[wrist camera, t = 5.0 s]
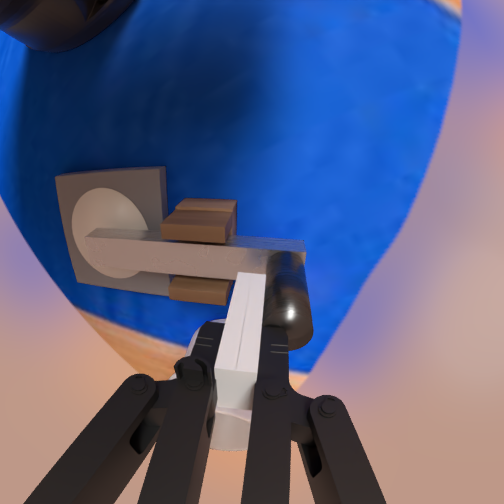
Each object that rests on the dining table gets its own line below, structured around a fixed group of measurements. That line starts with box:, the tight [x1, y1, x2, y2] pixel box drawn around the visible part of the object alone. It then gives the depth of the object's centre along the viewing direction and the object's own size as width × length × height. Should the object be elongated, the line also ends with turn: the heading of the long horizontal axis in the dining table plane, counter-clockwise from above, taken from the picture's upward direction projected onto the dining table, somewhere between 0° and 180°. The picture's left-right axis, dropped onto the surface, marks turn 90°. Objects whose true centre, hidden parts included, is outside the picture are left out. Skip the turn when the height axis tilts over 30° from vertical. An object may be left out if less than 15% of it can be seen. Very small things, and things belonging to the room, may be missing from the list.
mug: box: [168, 319, 252, 451], centre depth 23 cm, size 12×8×10 cm
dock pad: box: [55, 166, 174, 296], centre depth 21 cm, size 11×11×1 cm
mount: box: [160, 198, 237, 306], centre depth 19 cm, size 6×4×5 cm, turn 178°
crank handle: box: [85, 228, 313, 351], centre depth 16 cm, size 2×16×8 cm, turn 88°
